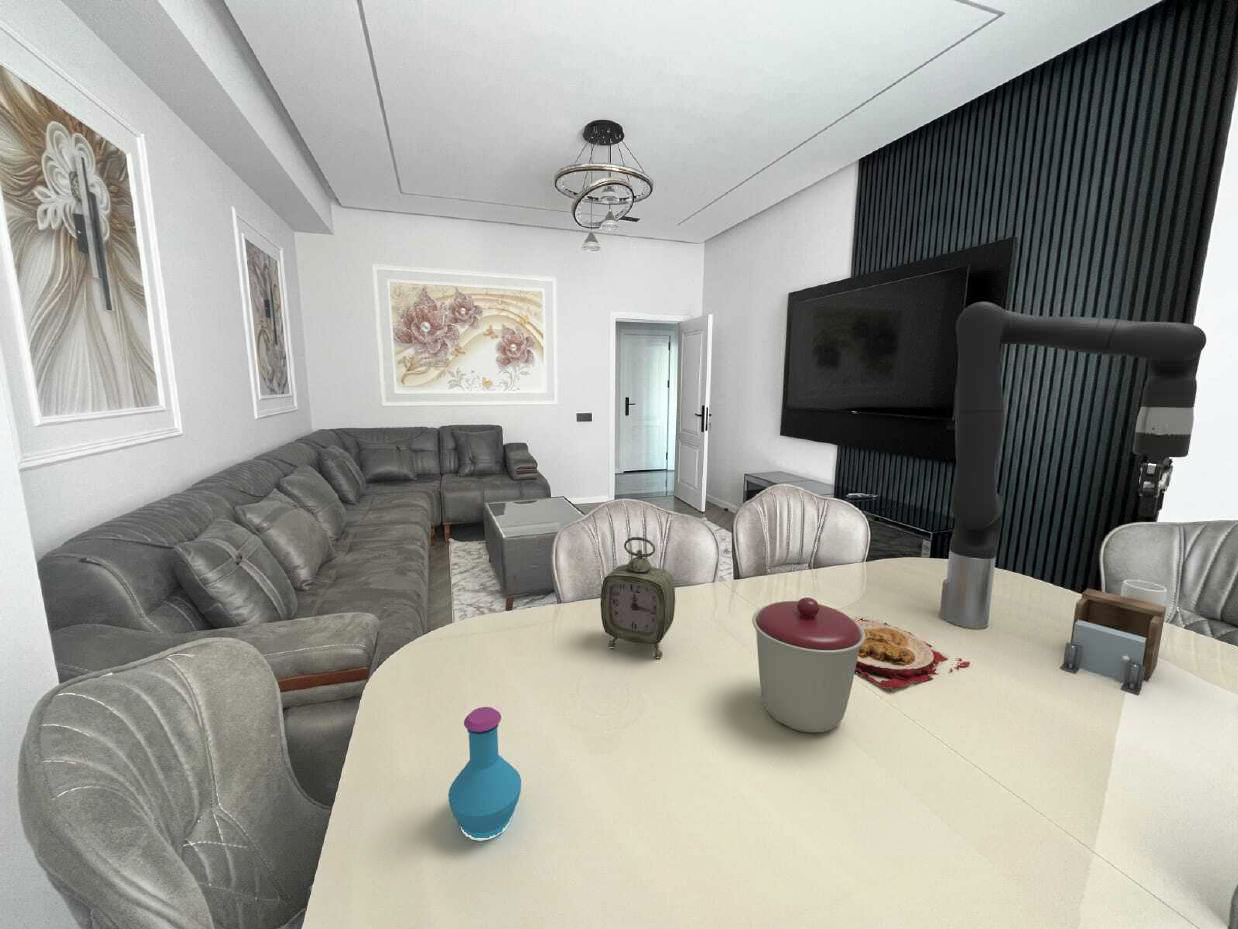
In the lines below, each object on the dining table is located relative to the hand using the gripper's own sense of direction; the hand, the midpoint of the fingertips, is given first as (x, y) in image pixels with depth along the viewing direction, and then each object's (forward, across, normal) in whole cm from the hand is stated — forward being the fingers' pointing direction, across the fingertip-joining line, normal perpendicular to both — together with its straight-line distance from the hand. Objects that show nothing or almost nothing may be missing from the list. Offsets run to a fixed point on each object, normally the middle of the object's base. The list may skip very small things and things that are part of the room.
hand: (1149, 512), depth 102 cm
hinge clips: (+32, +11, -2) cm, 34 cm away
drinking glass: (+32, -9, 0) cm, 34 cm away
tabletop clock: (+32, +76, -66) cm, 106 cm away
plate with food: (+33, +35, -35) cm, 59 cm away
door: (+32, +8, -2) cm, 33 cm away
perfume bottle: (+32, +121, -43) cm, 132 cm away
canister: (+32, +68, -31) cm, 81 cm away
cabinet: (+32, +1, -2) cm, 32 cm away
